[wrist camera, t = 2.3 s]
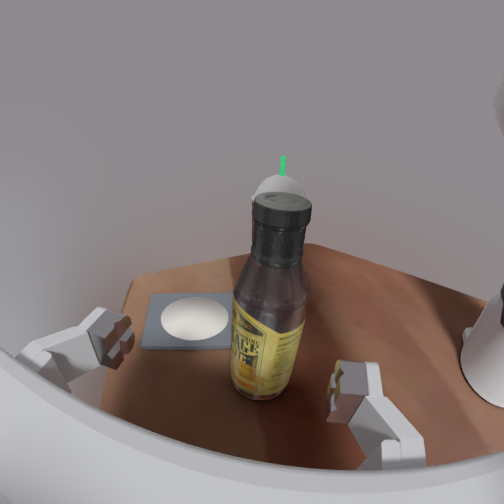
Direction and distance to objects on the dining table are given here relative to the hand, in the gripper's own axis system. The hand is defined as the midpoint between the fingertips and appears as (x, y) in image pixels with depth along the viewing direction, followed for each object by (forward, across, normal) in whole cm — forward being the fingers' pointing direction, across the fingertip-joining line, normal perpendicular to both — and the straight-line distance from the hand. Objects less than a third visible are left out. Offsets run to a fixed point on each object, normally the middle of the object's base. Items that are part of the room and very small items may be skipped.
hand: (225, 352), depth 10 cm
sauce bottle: (+12, 0, +17) cm, 21 cm away
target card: (+20, +10, +17) cm, 28 cm away
